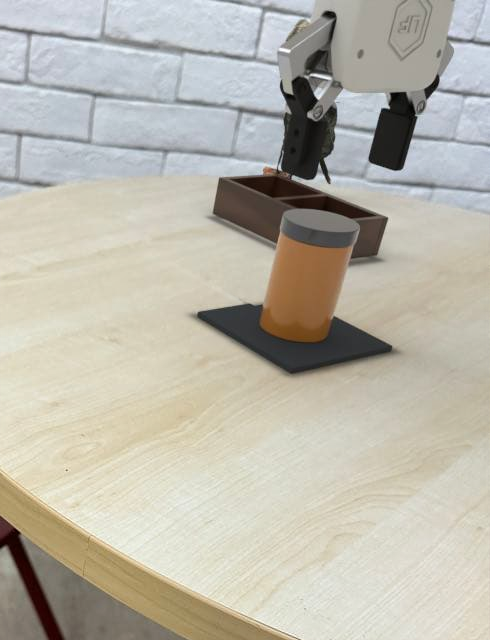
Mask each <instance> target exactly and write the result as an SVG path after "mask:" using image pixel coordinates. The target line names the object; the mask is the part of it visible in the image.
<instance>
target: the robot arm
mask: <svg viewBox="0 0 490 640" xmlns="http://www.w3.org/2000/svg"><path fill="white" fill-rule="evenodd" d="M455 4H456V0H314V5H313V8H312V12H311V17H310V21H309V23H310V25H309V26H308V27H306V28H305V29H304V30H302V31H301V32H299V33H298V34H297V35H295V36H294V37H292V38H291V39H289V40H288V41H287V42H286V41H285V42H283V43H282V44H281V45H280V46H279V47H278V49H277V52H276V57H277V58H276V59H277V66H278V71H279V72H278V73H279V78H280V81H279V90H280V92H281V94H282V96H283V98H284V101H285V106H284V108H285V113H286V112H287V113H289V114H291V117H290V122H289V127H288V132H287V137H286V142H285V147H284V152H283V151H282V153H283V154H282V158H281V162H280V171H283V172H285V173H288V174H291V175H293V176H292V177H297V178H300V179H302V180H303V181H312V180H314V179H316V177H317V174H318V170H319V166H320V163H319V162H320V157H321V153H322V148H323V144H324V139H325V135H326V130H327V123H328V122H327V121H323V120H320V119H321V118H322V117H323V115H324V114H325V113H326V111H327V110H328V109H329V107H330V106H331V105H332V103H333V102H335V101H336V100H337V98H338V97H339V95H340V94H341V92H342V91H343V90H346V91H347V92H350V93H354V94H385V98H386V101H387V106H388V108H387V107H381V109H380V112H379V114H378V118H377V122H376V127H375V130H374V133H373V138H372V142H371V145H370V150H369V154H368V157H367V159H368V162H369V163H370V164H372V165H375V166H378V167H381V168H385V169H386V170H391V171H392V172H393V171H394V172H400V171H402V170H403V169H404V167H405V165H406V161H407V158H408V154H409V149H410V146H411V142H412V140H413V135H414V133H415V132H414V131H415V128H416V125H417V120H418V118H419V116H421V115H423V113H424V112H425V111H426V109H427V106H428V105H427V104H428V102H427V101H428V100H429V98H430V97H431V96H432V95H433V93H434V92H435V91H436V90H437V88H438V87H439V85H440V81H441V79H440V78H441V77H442V76H443V74H444V72H445V71H446V69H447V67H448V65H449V64H450V62H451V60H452V58H453V57H454V54H455V49H454V46H453V45H452V44H451V42H450V41H449V40H448V36H449V30H450V26H451V23H452V18H453V13H454V9H455ZM318 88H319V89H320V90H319V92H318V93H317V95H316V94H315V92H316V90H317V89H318Z"/></svg>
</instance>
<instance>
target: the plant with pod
mask: <svg viewBox="0 0 490 640" xmlns="http://www.w3.org/2000/svg"><path fill="white" fill-rule="evenodd" d="M309 25H310V21H309V22H308V20H307V19H306V18H301V19H299V20H298V21H297V22H296V24H295V25H294V27H293V29H292V30H291V31H290V32H289V33H288V35H287V36H286V39H285V42H287V41H288V40H289V39H291V38H292V37H294V36H295V35H297V34H298V33H299V32H301V31H302V30H304V29H305V28H306V27H308V26H309ZM338 103H340V101H337V102H335V101H334V102H333V103H332V105H331V106H330V107H329V109H328V110H327V111H326V113H325V114H324V115H323V117H322V118H321V119H320V120H323V121H327V122H328V123H327V130H326V135H325V139H324V144H323V148H322V153H321V157H320V162H319V166H320V170H321V172H322V174H323V176H324V179H325V181H326V183H327V184H328V185H331V184H332V180H331V177H330V175H329V170H328V167H327V164H326V161H325V159H326V158H327V157H329V156H330V155H331V154H332V152H333V151H334V149H335V141H336V131H335V128H336V126H337V122H338V116H339V115H338V106H337V104H338ZM290 117H291V114H289V113H287V112H286V111H285V113H284V117H283V119H282V120H283V127H284V132H283V139H282V145H281V149H280V152H279V153H280V155H279V157H278V162H277V166H276V168H273V167H270V166H266V165H265V166H264V167H263V170H262V172H263V173H262V175H265V174H279V175H281V176H284V177H286V178H289V179H291V180H293V177H294V176H293V175H291V174H288V173H285V172H283V171H282V170H281V169H280V170H279V165H280V164H281V162H282V157H283V152H284V147H285V142H286V137H287V132H288V127H289V122H290Z"/></svg>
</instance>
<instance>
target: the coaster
mask: <svg viewBox="0 0 490 640" xmlns="http://www.w3.org/2000/svg"><path fill="white" fill-rule="evenodd" d="M262 307H263V304H258V305H254V304H251V303H250V302H248V303H244V304H236V305H230V306H225V307H218V308H212V309H207V310H206V309H205V310H200V311H197V315H196V317H197V318H198V319H200V320H202V321H203V322H205V323H207V324H208V325H210V326H211V327H213V328H215V330H218V331H220V332H222V333H223V334H224V335H227V336H228V337H230V338H231V339H233V340H235V341H236V342H238V343H240V344H241V345H243V346H244V347H246V348H248V349H249V350H251V351H253V352H254V353H256V354H258V355H259V356H261V357H263V358H265V359H266V360H268V361H269V362H271V363H272V364H274V365H276V366H278V367H279V368H281V369H282V370H284V371H286V372H288V373H289V374H294V373H295V374H296V373H299V372H300V373H301V372H304V371H309V370H313V369H314V370H315V369H319V368H323V367H326V366H327V367H328V366H331V365H335V364H336V365H337V364H340V363H344V362H345V363H346V362H349V361H353V360H357V359H358V360H359V359H362V358H368V357H371V356H375V355H381V354H384V353H390V352H392V350H393V345H391V344H390V343H388V342H386V341H384V340H382V339H380V338H378V337H376V336H375V335H372V334H371V333H368V332H366V331H364V330H362V329H361V328H358V327H357V326H355V325H353V324H351V323H349V322H347V321H345V320H343V319H341V318H339V317H337V316H335V315H334V316H333V320H332V323H331V327H330V330H329V334H328V336H327V338H326V339H324V340H322V341H319V342H311V343H305V342H295V341H289V340H285V339H282V338H279V337H276V336H274V335H271V334H270V333H268V332H266V331H265V330H263V329H262V328H261V326H260V324H259V320H260V316H261V311H262Z"/></svg>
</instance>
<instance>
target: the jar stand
mask: <svg viewBox="0 0 490 640" xmlns="http://www.w3.org/2000/svg"><path fill="white" fill-rule="evenodd" d="M292 209H314V210H321V211H327V212H331V213H335V214H339V215H342V216H345V217H347V218H350V219H352V220H354V221H355V222H357V223H358V224H359V226H360V230H359V234H358V237H357V241H356V243H355V244H354V247H353V250H352V254H351V257H350V260H352V259H353V260H354V259H359V258H367V257H375V256H378V253H379V251H380V247H381V244H382V240H383V238H384V235H385V231H386V228H387V224H388V221H389V217H388V216H386V215H383V214H381V213H378V212H375V211H373V210H371V209H368V208H366V207H363V206H360V205H358V204H355V203H353V202H350V201H348V200H345V199H343V198H340V197H337V196H334V195H332V194H329V193H327V192H324V191H322V190H320V189H317V188H314V187H311V186H309V185H307V184H304V183H302V182H299V181H296V180H294V179H289V178H286V177H284V176H281V175H279V174H265V175H263V174H251V175H237V176H236V175H234V176H222V177H221V176H219V177H218V181H217V186H216V192H215V199H214V203H213V209H212V214H213V215H214V216H217V217H219V218H221V219H223V220H225V221H227V222H230V223H232V224H234V225H236V226H238V227H240V228H242V229H244V230H247V231H249V232H251V233H253V234H255V235H257V236H259V237H262V238H263V239H266V240H267V241H270V242H272V243H274V244H276V245H277V243H278V238H279V234H280V224H281V220H282V216H283V213H284V212H285V211H288V210H292Z"/></svg>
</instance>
